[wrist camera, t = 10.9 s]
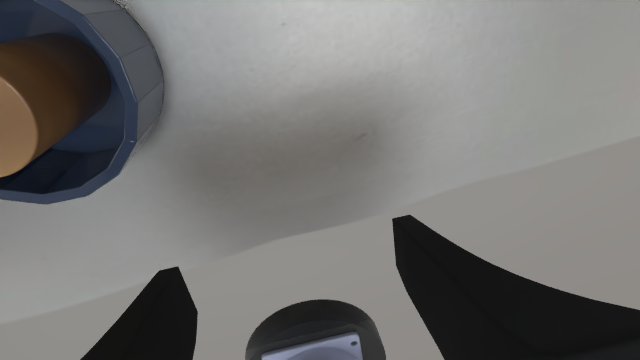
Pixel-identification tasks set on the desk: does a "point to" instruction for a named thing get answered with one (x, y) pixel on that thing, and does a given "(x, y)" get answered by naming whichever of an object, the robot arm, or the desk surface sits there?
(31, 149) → the brown cylinder
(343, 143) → the desk surface
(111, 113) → the cup
